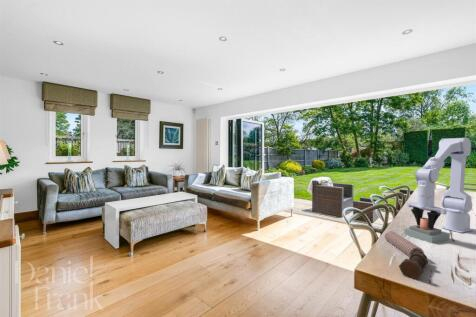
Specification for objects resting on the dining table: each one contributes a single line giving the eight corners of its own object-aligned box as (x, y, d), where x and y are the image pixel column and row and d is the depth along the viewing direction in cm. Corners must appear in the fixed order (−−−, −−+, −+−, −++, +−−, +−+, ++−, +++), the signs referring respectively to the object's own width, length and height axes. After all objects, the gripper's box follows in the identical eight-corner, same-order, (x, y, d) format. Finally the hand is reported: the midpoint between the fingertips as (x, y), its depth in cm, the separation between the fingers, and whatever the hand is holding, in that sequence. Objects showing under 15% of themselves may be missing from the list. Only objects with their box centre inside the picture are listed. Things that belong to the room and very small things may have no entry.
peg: (422, 232, 105) (423, 217, 104) (432, 235, 101) (432, 219, 101) (418, 233, 103) (418, 218, 103) (427, 236, 100) (427, 220, 100)
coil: (383, 230, 98) (410, 248, 81) (395, 229, 98) (424, 247, 80) (384, 241, 98) (411, 261, 81) (396, 240, 98) (426, 260, 80)
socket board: (421, 230, 110) (421, 222, 110) (449, 239, 100) (449, 229, 100) (404, 234, 106) (404, 225, 106) (431, 243, 95) (432, 233, 95)
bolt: (423, 268, 79) (412, 283, 69) (408, 256, 82) (395, 269, 72) (435, 256, 77) (425, 270, 67) (419, 244, 80) (407, 256, 70)
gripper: (402, 193, 107) (402, 222, 107) (439, 199, 94) (438, 233, 94) (413, 192, 110) (412, 221, 110) (450, 198, 96) (449, 231, 96)
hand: (425, 226), depth 102 cm, fingers open, 4 cm apart
